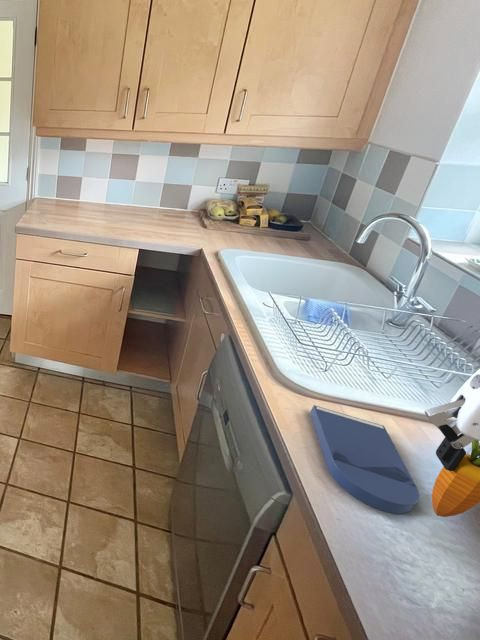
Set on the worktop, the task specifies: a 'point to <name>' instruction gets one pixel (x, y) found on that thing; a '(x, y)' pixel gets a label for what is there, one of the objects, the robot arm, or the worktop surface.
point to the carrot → (458, 486)
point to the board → (364, 461)
